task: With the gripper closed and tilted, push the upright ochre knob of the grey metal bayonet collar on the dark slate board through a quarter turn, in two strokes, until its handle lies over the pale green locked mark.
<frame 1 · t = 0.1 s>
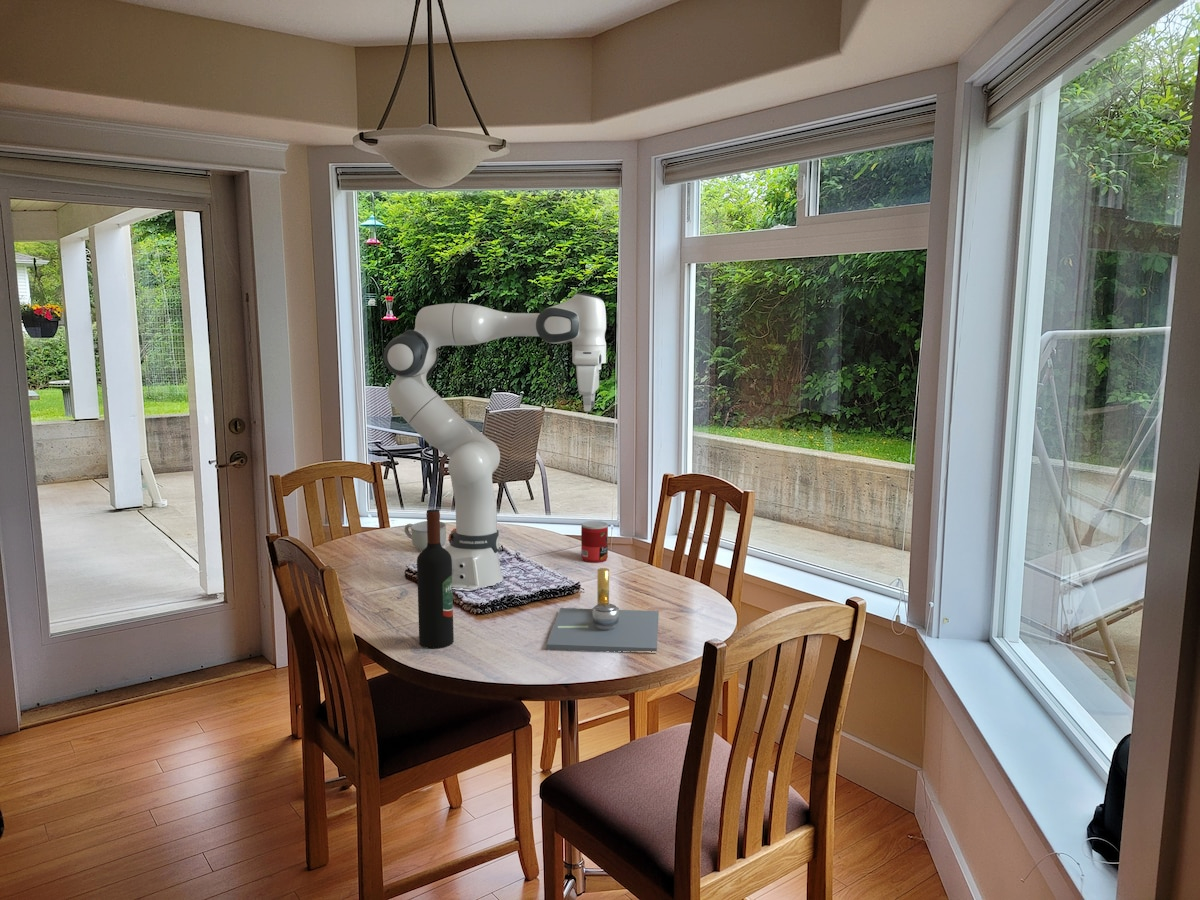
hand: (589, 409, 225), 48 cm above the table, tool pointing down, fingers open, 8 cm apart
teacup: (425, 549, 268), on the table
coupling: (604, 596, 201), point 7 cm above the table, hinge at 0.0°
wine bottle: (436, 643, 190), on the table
canned food: (594, 560, 257), on the table
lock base: (605, 631, 197), on the table
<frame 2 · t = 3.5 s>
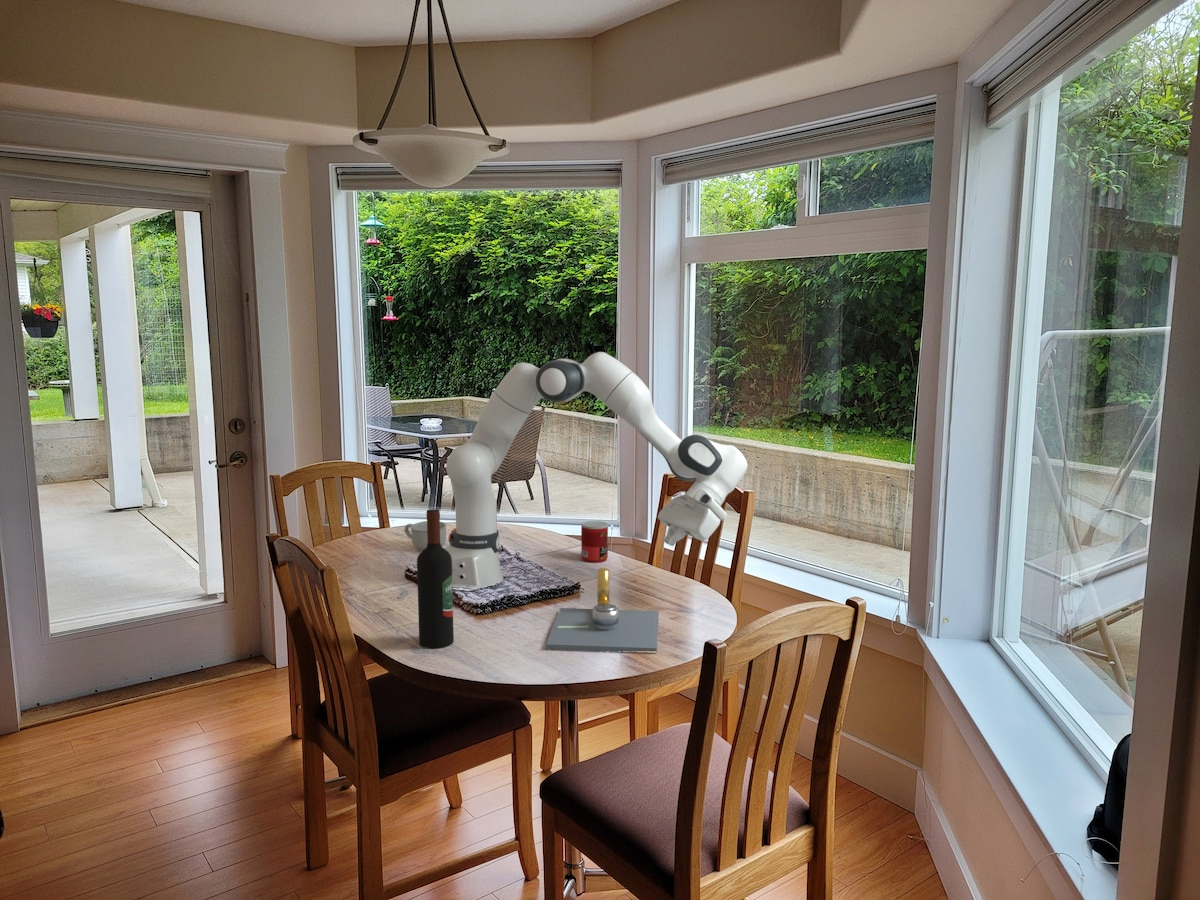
hand: (667, 543, 213), 16 cm above the table, tool tilted 45°, fingers closed
nothing on the table moved.
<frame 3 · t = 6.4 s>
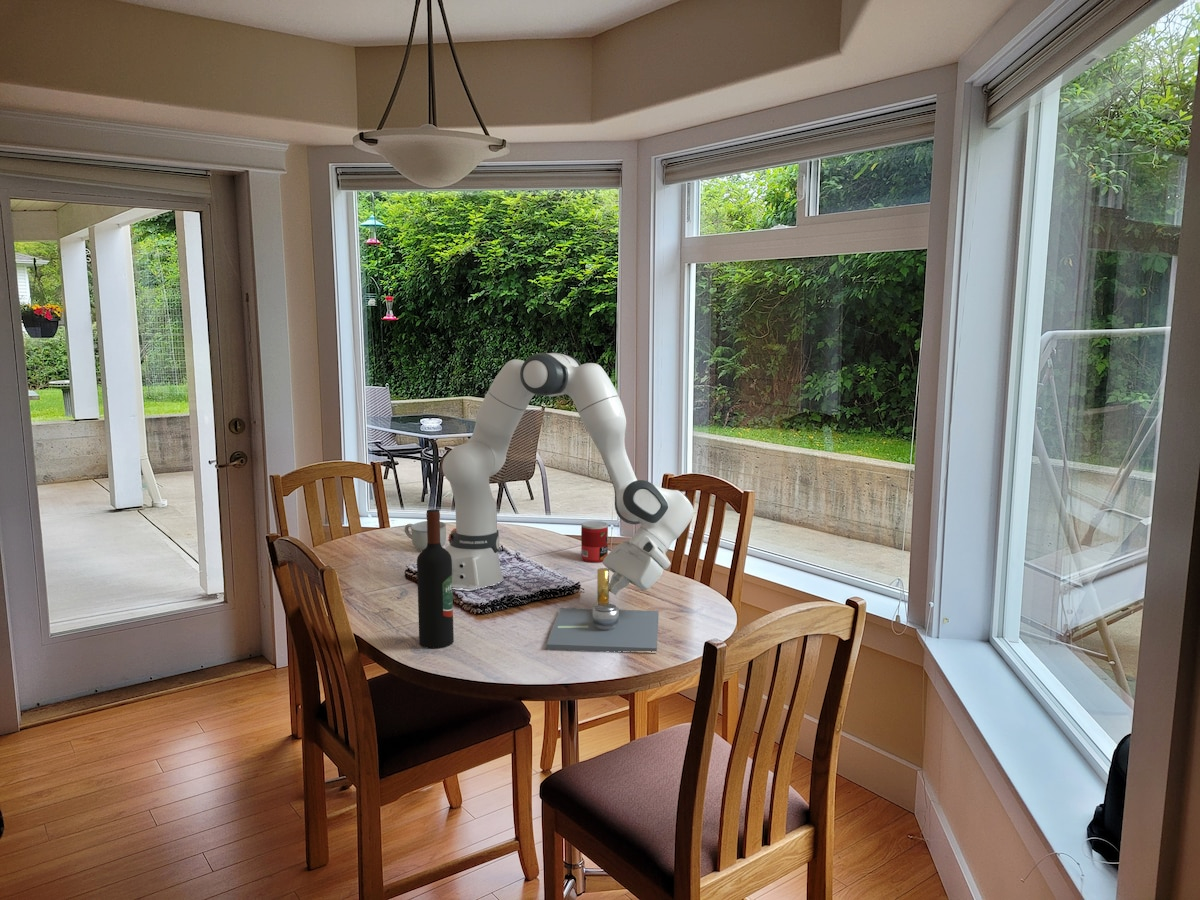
hand: (610, 591, 208), 6 cm above the table, tool tilted 45°, fingers closed, pressing on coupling
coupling: (604, 596, 201), point 7 cm above the table, hinge at 0.1°, touching gripper
everything else where it was.
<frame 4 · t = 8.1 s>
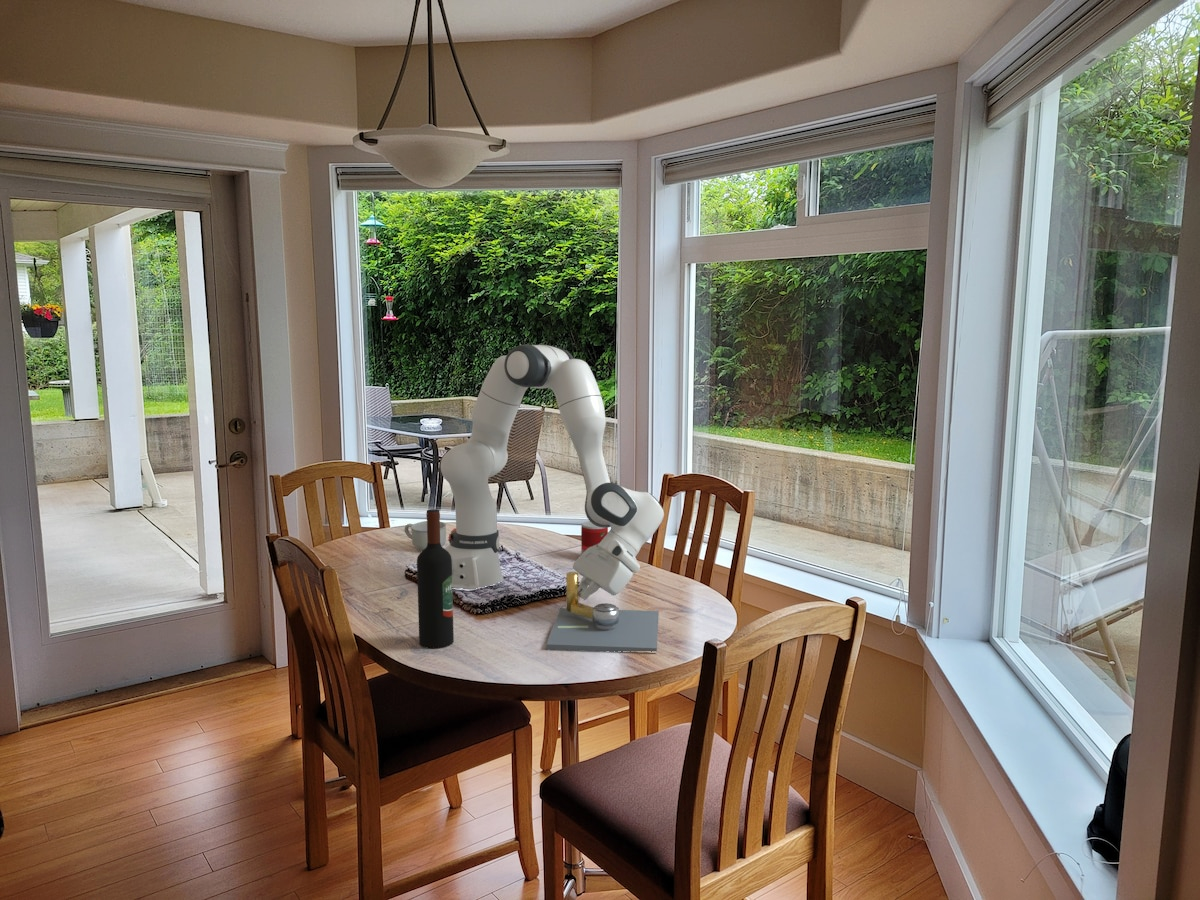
hand: (579, 596, 205), 6 cm above the table, tool tilted 45°, fingers closed, pressing on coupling
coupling: (591, 597, 199), point 7 cm above the table, hinge at 43.1°, touching gripper
everything else where it was.
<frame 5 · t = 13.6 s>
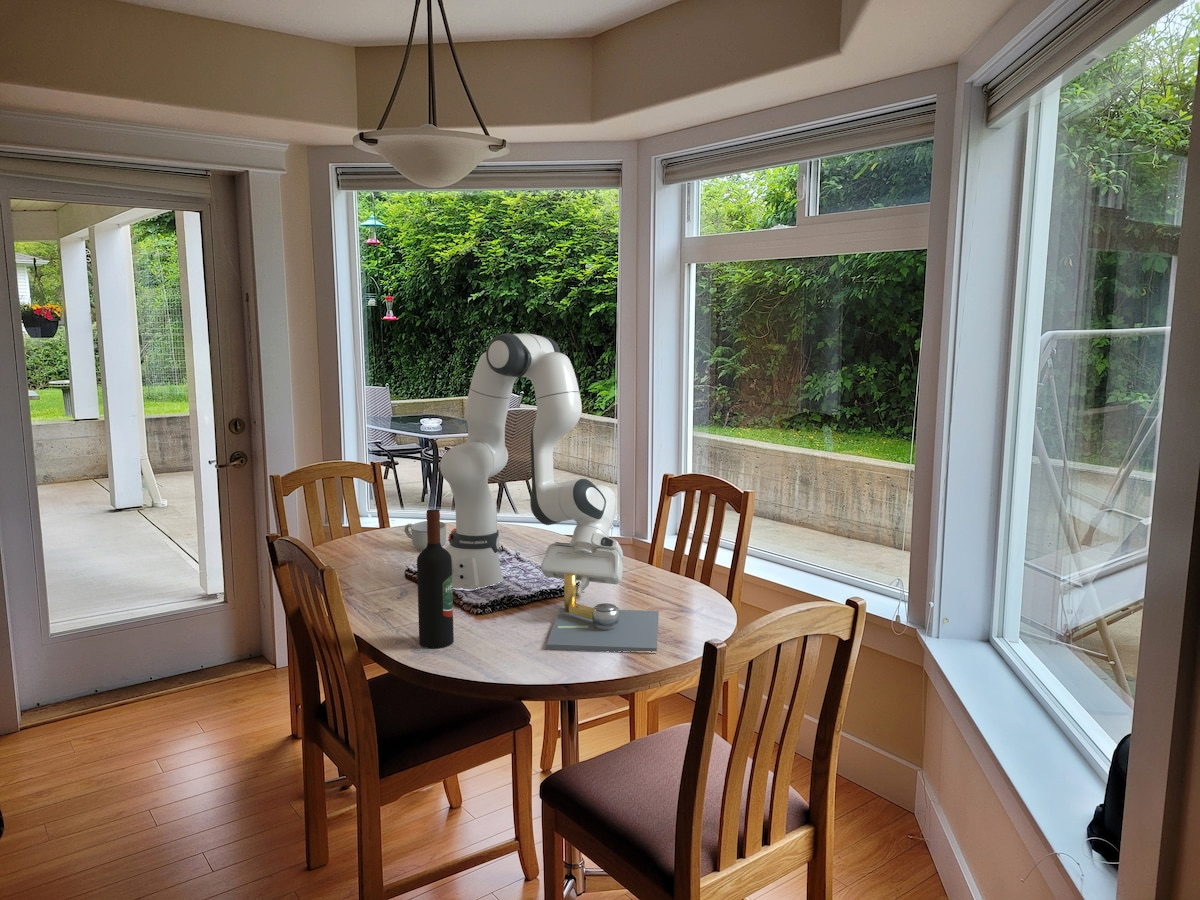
hand: (574, 594, 205), 6 cm above the table, tool tilted 45°, fingers closed, pressing on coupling
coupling: (590, 598, 199), point 7 cm above the table, hinge at 47.3°, touching gripper
everything else where it was.
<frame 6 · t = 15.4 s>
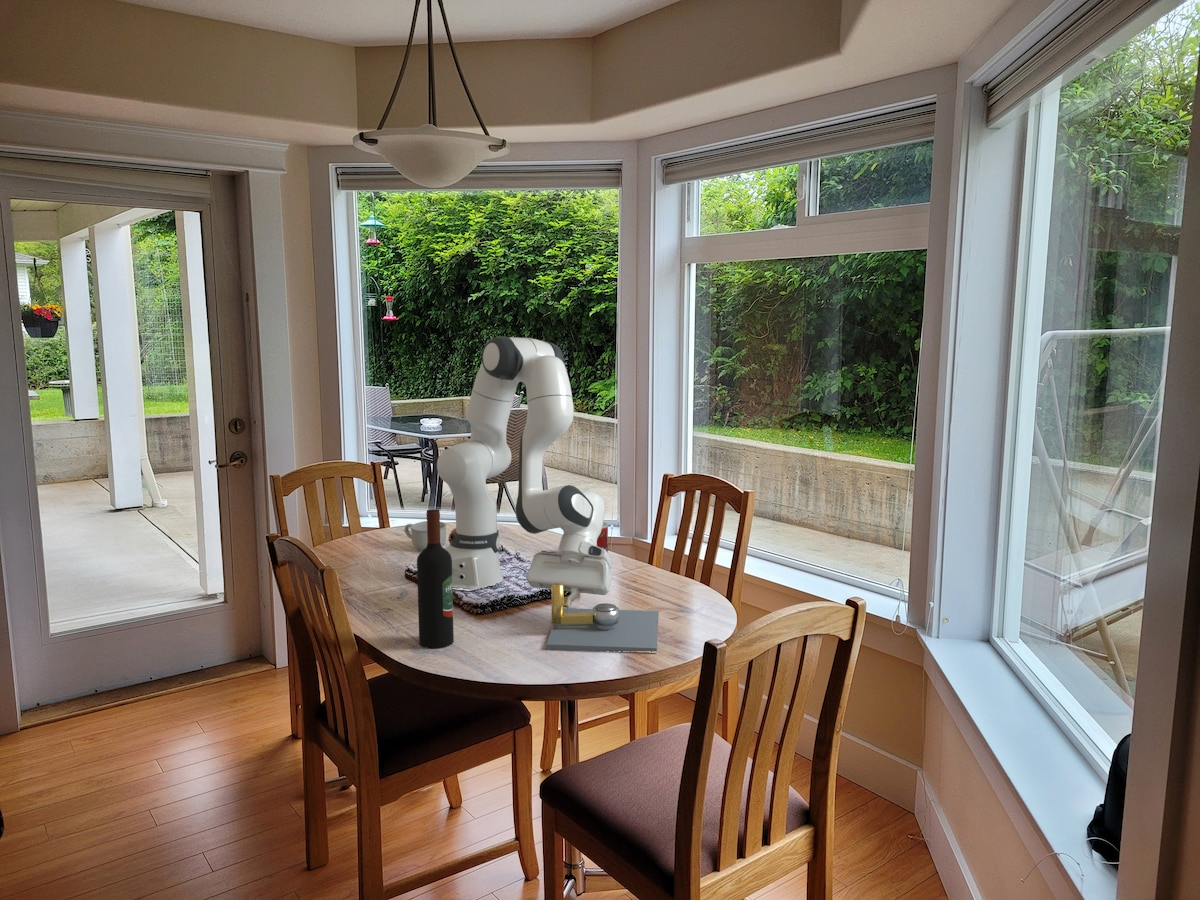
hand: (560, 606, 197), 6 cm above the table, tool tilted 45°, fingers closed on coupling
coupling: (585, 602, 196), point 7 cm above the table, hinge at 91.2°, touching gripper
everything else where it was.
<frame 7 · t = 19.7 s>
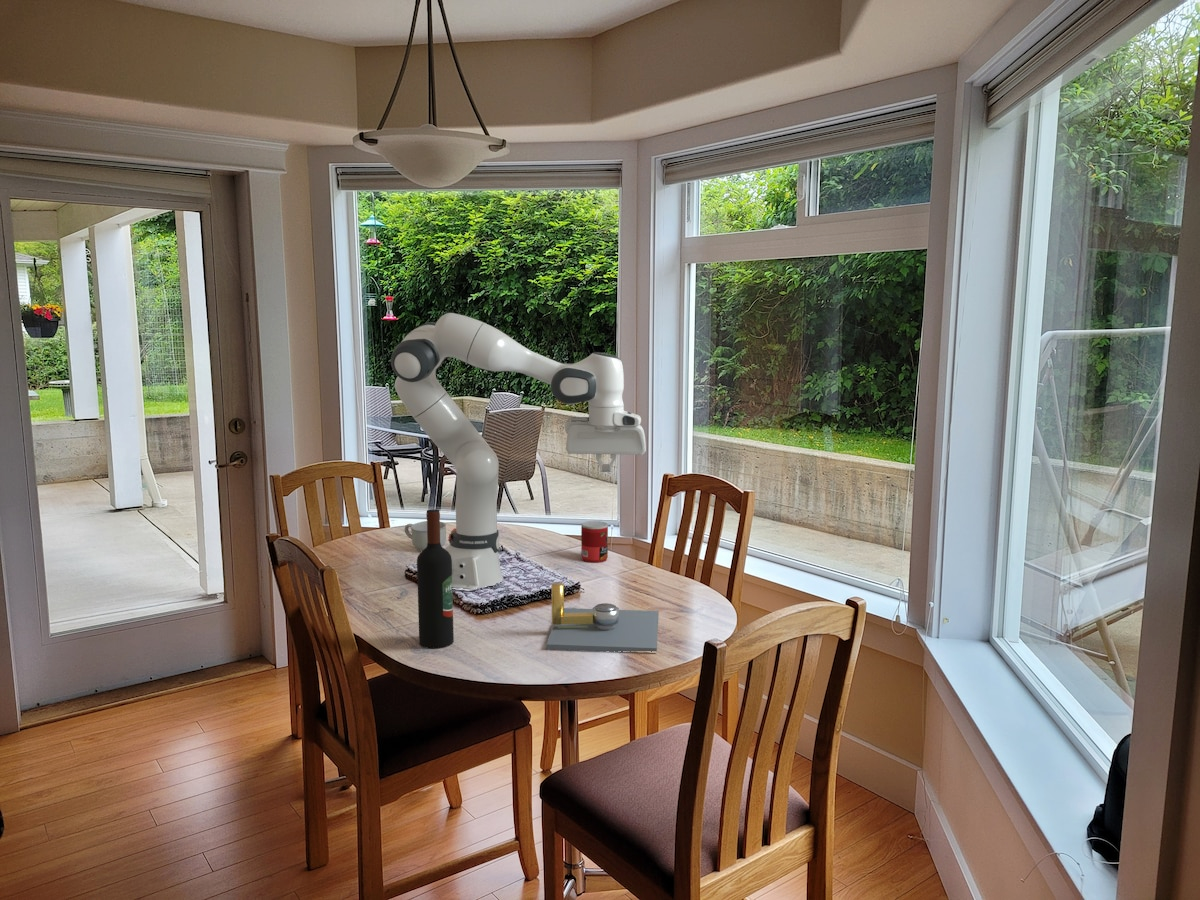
hand: (606, 471, 217), 33 cm above the table, tool pointing down, fingers closed
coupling: (585, 603, 196), point 7 cm above the table, hinge at 92.1°
everything else where it was.
at the end: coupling at +92° (first picture: +0°) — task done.
